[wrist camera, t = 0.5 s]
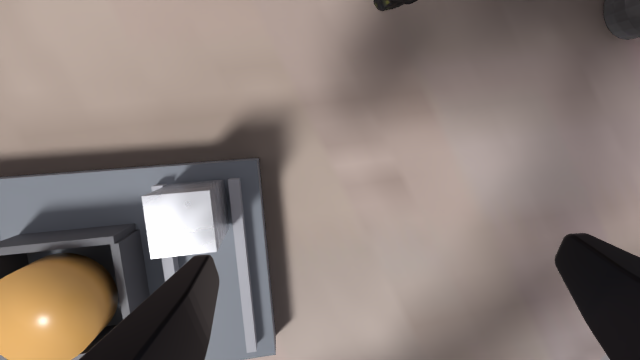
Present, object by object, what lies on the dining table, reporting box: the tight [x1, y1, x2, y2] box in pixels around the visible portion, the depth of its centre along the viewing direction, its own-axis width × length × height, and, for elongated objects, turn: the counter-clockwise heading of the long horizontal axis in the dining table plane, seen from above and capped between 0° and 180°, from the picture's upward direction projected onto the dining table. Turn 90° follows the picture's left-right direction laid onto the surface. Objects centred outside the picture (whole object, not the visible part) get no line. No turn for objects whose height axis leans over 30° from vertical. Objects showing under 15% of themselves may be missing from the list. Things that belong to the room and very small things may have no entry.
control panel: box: [0, 158, 276, 360], centre depth 18 cm, size 13×28×4 cm, turn 94°
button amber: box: [0, 253, 118, 360], centre depth 16 cm, size 5×5×2 cm
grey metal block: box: [141, 179, 229, 259], centre depth 17 cm, size 3×3×4 cm
